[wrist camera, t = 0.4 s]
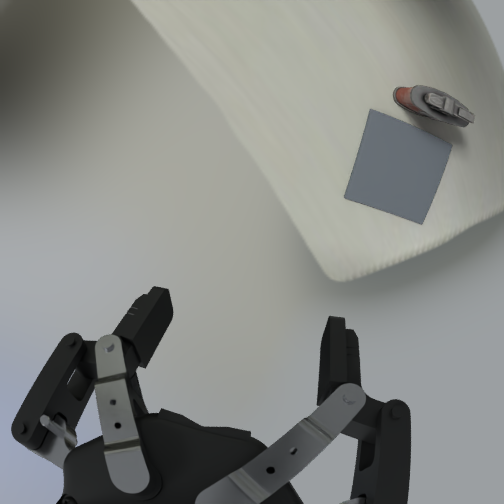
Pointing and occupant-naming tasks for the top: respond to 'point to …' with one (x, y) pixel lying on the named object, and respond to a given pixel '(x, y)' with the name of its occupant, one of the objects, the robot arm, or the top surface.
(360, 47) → the top surface
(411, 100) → the lighter
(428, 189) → the mat
